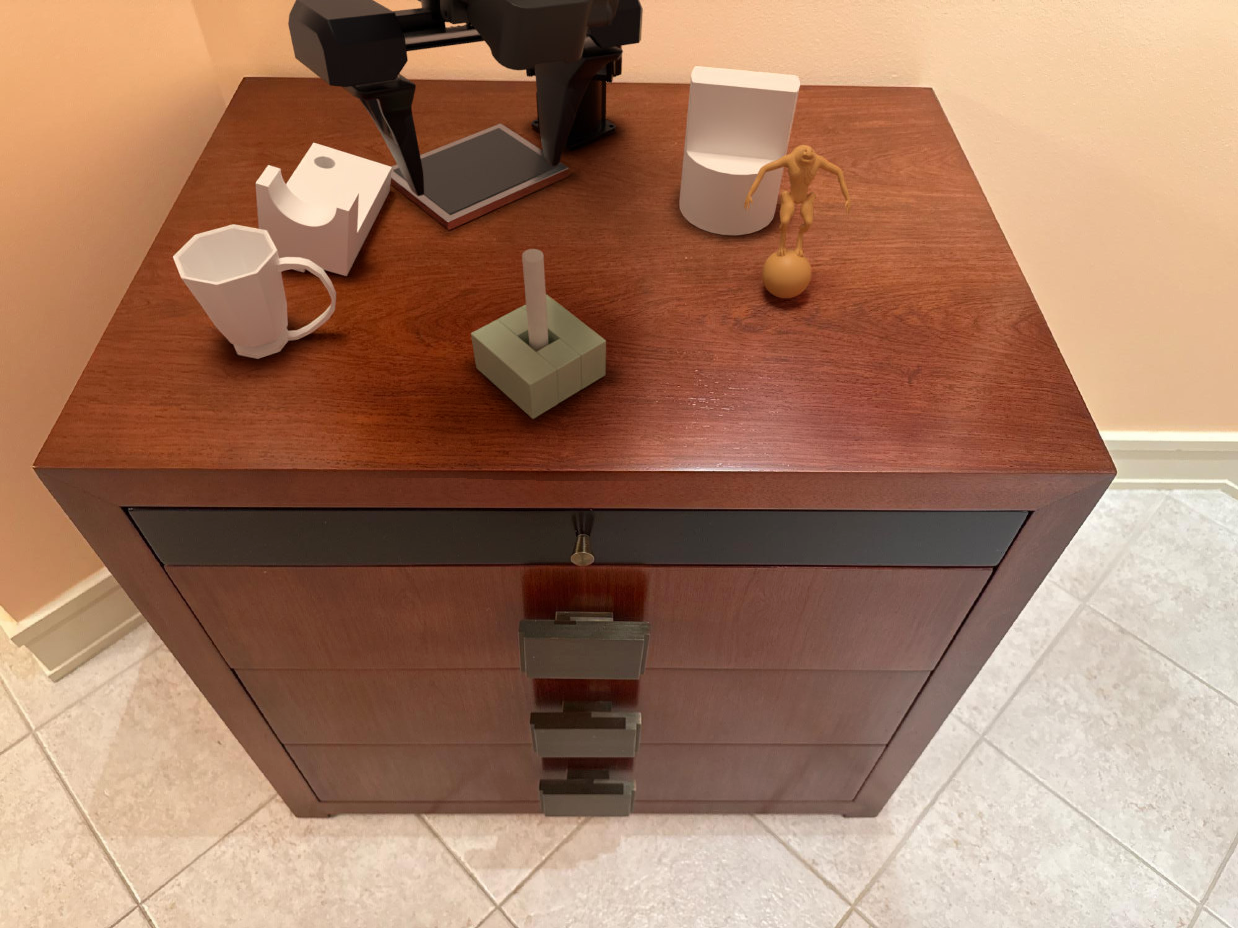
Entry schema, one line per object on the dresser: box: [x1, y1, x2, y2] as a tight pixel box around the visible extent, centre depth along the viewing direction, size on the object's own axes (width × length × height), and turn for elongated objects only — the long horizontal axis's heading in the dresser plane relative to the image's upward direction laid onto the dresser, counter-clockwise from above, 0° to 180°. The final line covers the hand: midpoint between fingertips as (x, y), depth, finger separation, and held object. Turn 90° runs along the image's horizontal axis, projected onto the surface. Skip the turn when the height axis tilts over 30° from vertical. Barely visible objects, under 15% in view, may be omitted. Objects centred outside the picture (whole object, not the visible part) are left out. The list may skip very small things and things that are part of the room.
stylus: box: [521, 248, 549, 352], centre depth 57 cm, size 1×1×11 cm
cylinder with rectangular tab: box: [678, 65, 801, 236], centre depth 71 cm, size 9×9×12 cm
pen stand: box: [470, 293, 607, 420], centre depth 60 cm, size 7×7×4 cm
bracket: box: [255, 142, 392, 277], centre depth 69 cm, size 13×7×8 cm, turn 174°
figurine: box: [744, 144, 851, 299], centre depth 64 cm, size 8×6×12 cm
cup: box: [172, 223, 337, 360], centre depth 60 cm, size 7×10×8 cm
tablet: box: [390, 123, 570, 231], centre depth 78 cm, size 14×11×1 cm
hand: (487, 178), depth 50 cm, fingers open, 9 cm apart
